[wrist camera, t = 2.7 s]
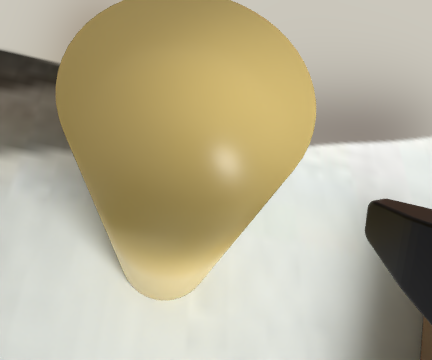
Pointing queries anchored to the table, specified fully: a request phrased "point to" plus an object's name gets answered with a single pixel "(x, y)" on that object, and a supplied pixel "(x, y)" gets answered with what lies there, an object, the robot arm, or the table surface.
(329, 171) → the table surface
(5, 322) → the table surface
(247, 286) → the table surface
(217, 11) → the plug
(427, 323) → the walled box
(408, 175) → the table surface
